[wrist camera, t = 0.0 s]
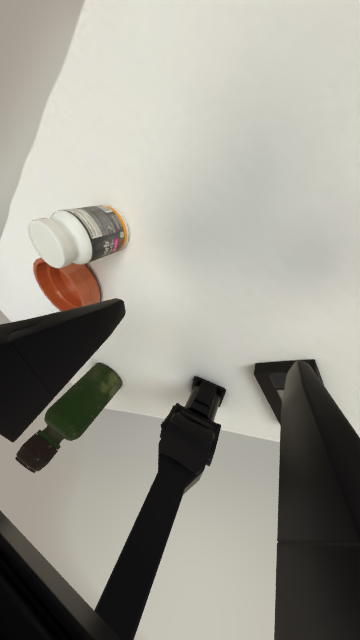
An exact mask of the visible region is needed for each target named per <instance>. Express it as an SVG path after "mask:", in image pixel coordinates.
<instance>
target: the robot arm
mask: <svg viewBox="0 0 360 640" xmlns="http://www.w3.org/2000/svg"><path fill="white" fill-rule="evenodd" d="M124 316H125V306H124V302H123V300H120V299H117V298H115V299H111V300H107V301H103V302H99V303H94V304H90V305H86V306H82V307H78V308H73V309H69V310H65V311H61V312H57V313H53V314H49V315H44V316H40V317H36V318H31V319H27V320H22V321H17V322H12V323H7V324H1V325H0V435H2V436H4V437H5V438H7V439H8V440H10V441H11V442H14V441H15V440H17V438H18V437H19V436H20V435H21V434H22V433H23V432H24V431H25V430H26V429H27V428H28V426H29V425H30V424H31V423H32V422H33V421H34V419H36V418H37V416H38V415H39V414H40V413H41V412H42V411H43V410H44V409H45V408H46V406H47V405H48V404H49V403H50V402H51V401H52V400H53V399H54V397H55V396H56V395H57V394H58V393H59V392H60V391H61V390H62V388H63V387H64V386H65V385H66V384H67V383H68V382H69V381H70V380H71V378H72V377H73V376H74V375H75V374H76V373H77V372H78V371H79V370H80V368H81V367H82V366H83V365H84V364H85V363H86V362H87V361H88V360H89V358H90V357H91V356H92V355H93V354H94V353H95V352H96V351H97V350H98V348H99V347H100V346H101V345H102V344H103V343H104V342H105V341H106V340H107V338H108V337H109V336H110V335H111V334H112V332H113V331H114V330H115V328H116V327H117V325H118V324H119V323H120V321H121V320H122V319H123V317H124ZM225 392H226V390H225V389H224V388H222V387H220V386H217V385H215V384H213V383H210V382H208V381H206V380H203V379H201V378H199V377H196V376H195V377H194V380H193V386H192V392H191V395H190V397H189V399H188V401H187V403H186V405H185V407H183V406H181V405H180V404H178V403H176V405H175V406H173V408H172V410H171V411H170V413H169V415H168V416H167V417H166V418H165V420H164V421H163V422H162V424H161V429H162V430H161V434H160V438H161V440H160V442H159V455H158V456H159V459H158V473H157V475H156V478H155V480H154V482H153V484H152V486H151V488H150V491H149V493H148V495H147V497H146V499H145V502H144V504H143V506H142V508H141V511H140V512H139V515H138V517H137V519H136V521H135V523H134V526H133V528H132V530H131V532H130V534H129V536H128V539H127V541H126V543H125V545H124V547H123V550H122V552H121V554H120V556H119V558H118V560H117V563H116V565H115V567H114V569H113V571H112V574H111V576H110V578H109V580H108V582H107V584H106V587H105V589H104V591H103V593H102V595H101V598H100V600H99V602H98V604H97V606H96V608H95V611H94V610H93V609H92V608H91V607H90V606H89V605H88V604H87V603H86V602H85V601H84V600H83V598H82V597H81V596H80V595H79V594H78V593H77V592H76V591H75V590H74V589H73V588H72V587H71V586H70V585H69V584H68V582H67V581H66V580H65V579H64V578H63V577H62V576H61V575H60V574H59V573H58V572H57V571H56V570H55V568H54V567H53V566H52V565H51V564H50V563H49V562H48V561H47V560H46V559H45V558H44V557H43V556H42V555H41V554H40V552H39V551H38V550H37V549H36V548H35V547H34V546H33V545H32V544H31V543H30V542H29V541H28V540H27V539H26V537H25V536H24V535H23V534H22V533H21V532H20V531H19V530H18V529H17V528H16V527H15V526H14V525H13V524H12V523H11V521H10V520H9V519H8V518H7V517H6V516H5V515H4V514H3V513H2V512H1V511H0V640H134V637H135V634H136V631H137V628H138V625H139V622H140V619H141V616H142V613H143V611H144V607H145V605H146V602H147V599H148V596H149V593H150V589H151V587H152V584H153V581H154V578H155V575H156V572H157V569H158V566H159V563H160V561H161V558H162V555H163V552H164V549H165V546H166V542H167V540H168V537H169V534H170V531H171V528H172V525H173V522H174V519H175V516H176V513H177V511H178V508H179V505H180V502H181V499H182V496H183V494H184V493H185V492H187V491H188V490H189V489H190V488H191V487H192V486H193V485H194V484H195V483H197V482H198V481H199V479H200V477H201V475H202V473H203V471H204V468H205V465H208V466H210V464H211V461H212V459H213V455H214V452H215V449H216V444H217V441H218V436H219V432H220V428H221V425H220V424H217V423H215V422H213V421H214V418H215V415H216V412H217V409H218V407H220V405H221V403H222V400H223V398H224V395H225ZM278 503H279V504H278V537H277V541H278V543H277V567H276V600H275V602H276V603H275V634H274V640H360V438H359V436H358V435H357V433H356V432H355V430H354V429H353V427H352V426H351V424H350V423H349V422H348V420H347V419H346V417H345V416H344V414H343V413H342V411H341V410H340V409H339V407H338V406H337V404H336V403H335V401H334V400H333V398H332V397H331V395H330V394H329V393H328V391H327V390H326V388H325V387H324V385H323V384H322V382H321V381H320V380H319V378H318V377H317V375H316V374H315V372H314V371H313V369H312V368H311V366H310V365H309V364H308V363H305V362H302V361H300V360H297V361H296V362H295V363H294V364H293V366H292V367H291V368H290V370H289V371H288V373H287V377H286V383H285V389H284V395H283V401H282V407H281V432H280V467H279V501H278Z"/></svg>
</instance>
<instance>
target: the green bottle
mask: <svg viewBox="0 0 360 640" xmlns="http://www.w3.org/2000/svg"><path fill="white" fill-rule="evenodd" d="M121 386H122V383H121V380H120V378H119V377H118V375H117V374H116V373H115V372H114V371H112V370H111V369H110V368H109V367H107V366H105V365H103V364H96V365H94V366H93V367H92V368H91V369H90V370H89V371H88V372H87V373H86V374H85V375H84V376H83V377H82V378H81V379H80V380H79V381H78V382H77V383H75V384H74V385H73V386H72V387H71V388H70V389H69V390H68V391H67V392H66V393H65V394H64V395H63V396H62V397H61V398H60V399H59V400H58V401H57V402H55V403H54V404H53V405H52V406H51V407H50V408H49V409H48V410H47V412H46V414H45V422H46V423H47V427H46V428H45V429H44V430H43V431H41V430H39V431H38V432H37V434H38V435H37V434H36V433H35V434H34V435H33V436H32V437H31V438H30V439H29V440H28V441H27V442H25V443H24V444H23V445H22V447H21V448H20V450H19V451H18V453H17V457H16V460H17V461H18V462H19V463H20V464H22V465H23V466H24V467H25V468H27V469H28V470H30V471H31V472H33V473H35V471H39V470H41V469H42V468H43V467H44V466H46V465H47V464H48V463H49V461H50V460H51V459H52V458H53V456H54V455H55V454H56V453H57V452H58V451H57V450H58V449H59V448H60V445H59V444H60V442H61V441H62V440H63V439H64V438H65V439H67V440H70V441H72V440H75V439H77V438H79V437H80V436H81V435H82V434H83V433H84V432H85V430H86V429H87V428H88V427H89V425H90V424H91V423H92V422H93V421H94V419H95V418H96V417H97V416H98V414H99V413H100V412H101V411H102V410H103V408H104V407H105V406H106V405H107V403H108V402H109V401H110V400H111V399H112V397H113V396H114V395H115V394H116V392H117V391H118V390H119V389H120V388H121ZM56 449H57V450H56Z"/></svg>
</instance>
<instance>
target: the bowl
mask: <svg viewBox="0 0 360 640" xmlns="http://www.w3.org/2000/svg"><path fill="white" fill-rule="evenodd" d="M33 270H34V274H35V278H36V280H37V282H38V284H39V286H40V288H41V290H42V291H43V293H44V294H45V296H46V297H47V298H48V299H49V300H50V301H51V303H52V304H53V305H54V306H55V307H57V308H58V309H59V310H60V311H65V310H69V309H73V308H78V307H82V306H86V305H90V304H94V303H99V302H100V291H99V287H98V284H97V281H96V279H95V277H94V276H93V274H92V272H91V271H90V270H89V269H88V267H87V266H86V265H85V264H75V263H71V264H70V265H68V266H65V267H62V268H54V267H52V266H50V265H49V264H48V263H46V262H45V261H44V260H43V259H42V258H39V259H36V261H35V262H34V267H33Z"/></svg>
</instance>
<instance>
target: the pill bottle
mask: <svg viewBox="0 0 360 640" xmlns="http://www.w3.org/2000/svg"><path fill="white" fill-rule="evenodd" d="M28 232H29V237H30V240H31V242H32V244H33V246H34V248H35V250H36V251H37V253H38V254H39V255H40V257H41V258H42V259H43V260H44V261H45V262H46V263H48V264H49V265H50V266H52V267H54V268H62V267H65V266H68V265H70V264H71V263H75V264H86V263H89V262H91V261H94V260H96V259H99V258H102V257H104V256H106V255H109V254H112V253H114V252H117V251H119V250H122V249H123V248H124V247H125V246H126V245H127V243H128V239H129V230H128V226H127V223H126V221H125V219H124V217H123V216H122V215H121V213H120V212H119V211H118V210H117V209H115V208H113V207H111V206H108V205H100V206H92V207H84V208H76V209H67V210H59V211H57V212H55V213H53V214H52V215H51V217H50V219H48V218H41V219H35V220H32V221H31V222H30V223H29V226H28Z"/></svg>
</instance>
